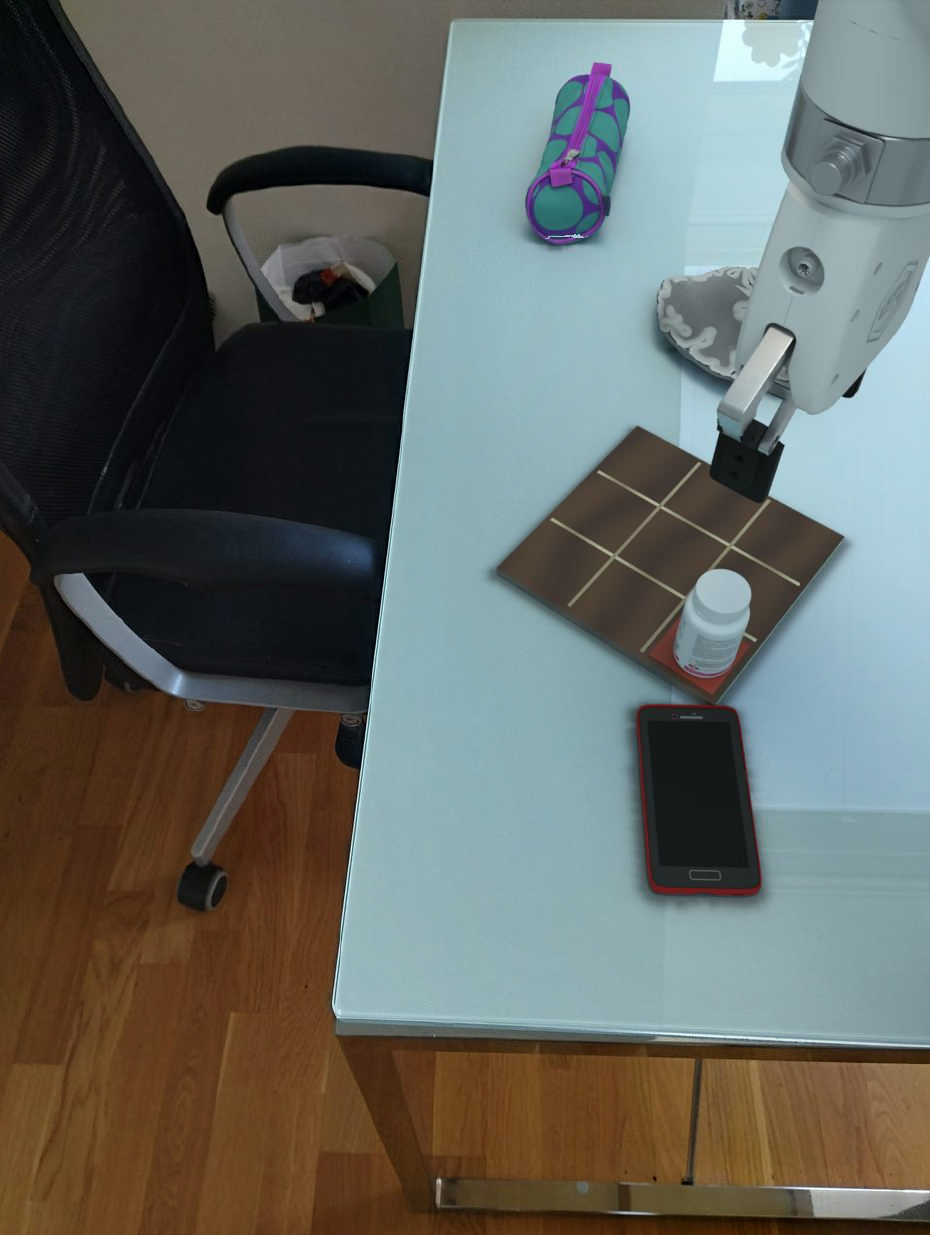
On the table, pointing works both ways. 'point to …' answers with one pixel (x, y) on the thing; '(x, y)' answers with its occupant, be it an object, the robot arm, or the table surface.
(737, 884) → the cell phone
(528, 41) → the table surface
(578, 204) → the pencil case
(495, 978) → the table surface
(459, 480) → the table surface
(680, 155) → the table surface
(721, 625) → the pill bottle
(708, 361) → the brain slice
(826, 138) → the robot arm
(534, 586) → the grid board
